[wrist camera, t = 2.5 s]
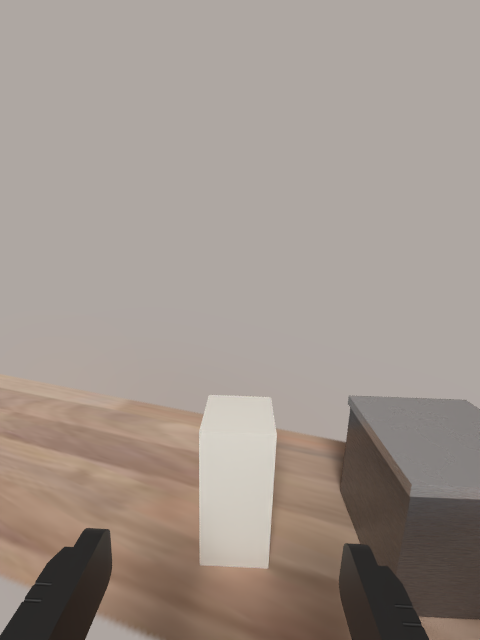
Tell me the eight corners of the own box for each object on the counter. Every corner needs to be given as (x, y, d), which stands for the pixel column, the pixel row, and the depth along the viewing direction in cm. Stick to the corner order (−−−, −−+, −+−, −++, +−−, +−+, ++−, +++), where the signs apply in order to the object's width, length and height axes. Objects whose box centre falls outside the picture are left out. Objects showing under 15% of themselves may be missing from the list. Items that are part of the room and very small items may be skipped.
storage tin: (445, 493, 28) (465, 400, 26) (553, 626, 18) (602, 492, 16) (337, 489, 29) (348, 395, 26) (386, 618, 19) (412, 484, 16)
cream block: (264, 509, 26) (270, 397, 24) (268, 568, 21) (276, 434, 19) (208, 507, 26) (209, 394, 24) (199, 565, 21) (199, 431, 19)
